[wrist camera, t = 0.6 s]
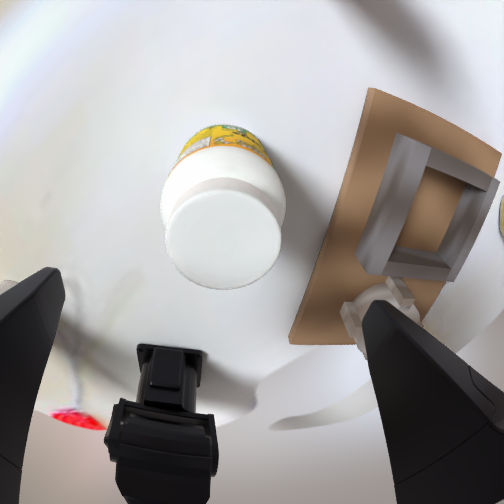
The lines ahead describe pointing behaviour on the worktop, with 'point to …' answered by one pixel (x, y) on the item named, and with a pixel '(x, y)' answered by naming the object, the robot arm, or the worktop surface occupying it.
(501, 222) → the bread roll
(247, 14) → the worktop surface
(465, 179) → the carrier plate
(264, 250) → the supplement bottle
